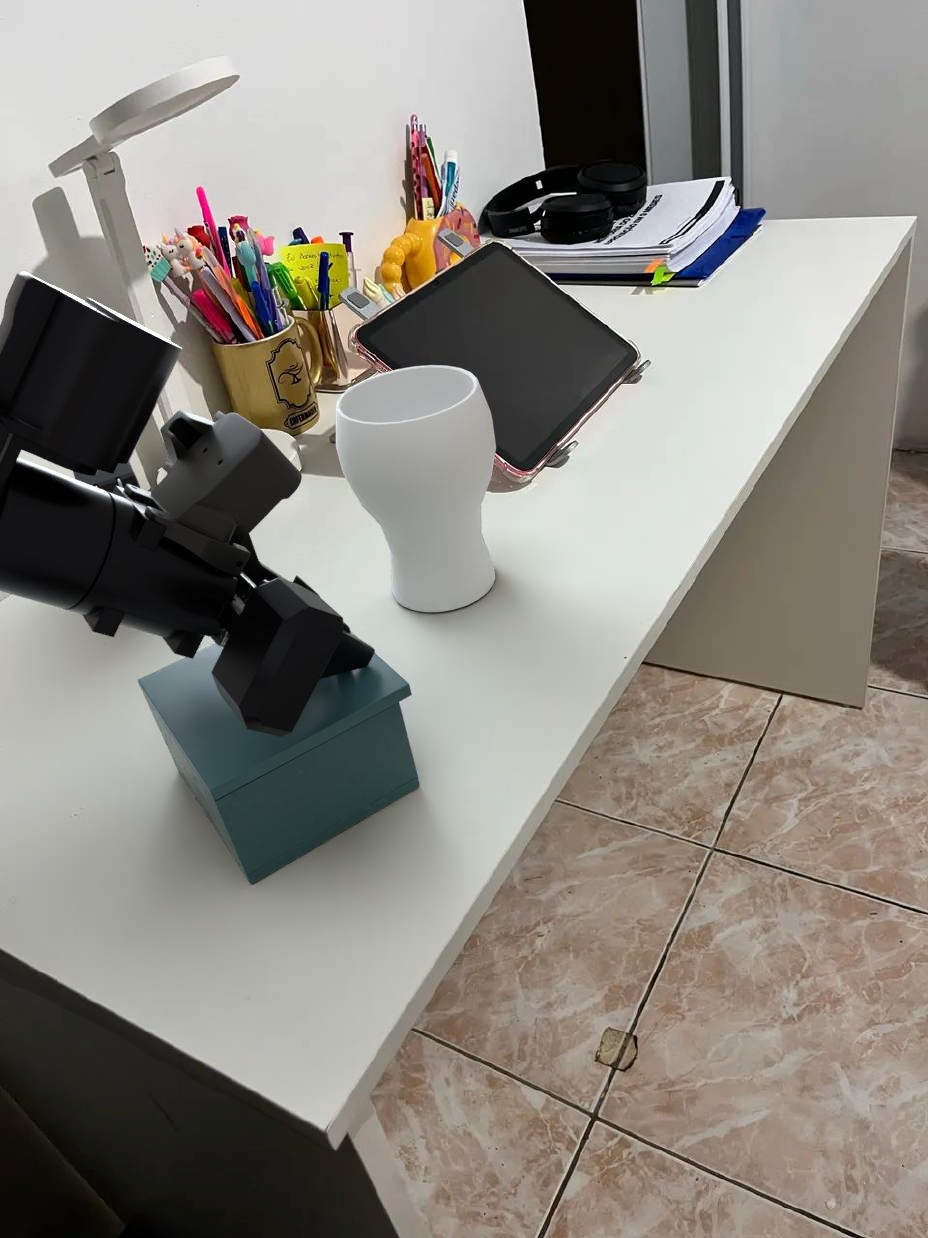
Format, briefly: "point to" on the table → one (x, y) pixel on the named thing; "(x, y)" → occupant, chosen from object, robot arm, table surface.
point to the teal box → (307, 793)
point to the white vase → (423, 478)
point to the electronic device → (110, 478)
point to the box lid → (244, 755)
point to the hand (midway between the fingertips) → (348, 636)
